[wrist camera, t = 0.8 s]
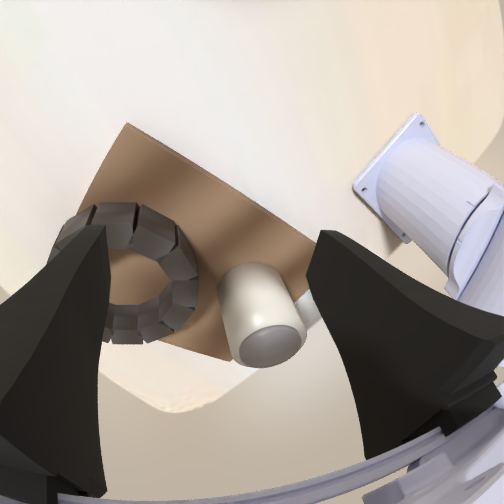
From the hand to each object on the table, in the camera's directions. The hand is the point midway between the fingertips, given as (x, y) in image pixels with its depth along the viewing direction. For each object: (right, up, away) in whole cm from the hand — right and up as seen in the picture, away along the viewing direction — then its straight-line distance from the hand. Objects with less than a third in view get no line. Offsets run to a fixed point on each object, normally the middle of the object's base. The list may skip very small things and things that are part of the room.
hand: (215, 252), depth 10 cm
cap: (+1, -3, +13) cm, 14 cm away
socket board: (-4, -1, +12) cm, 13 cm away
